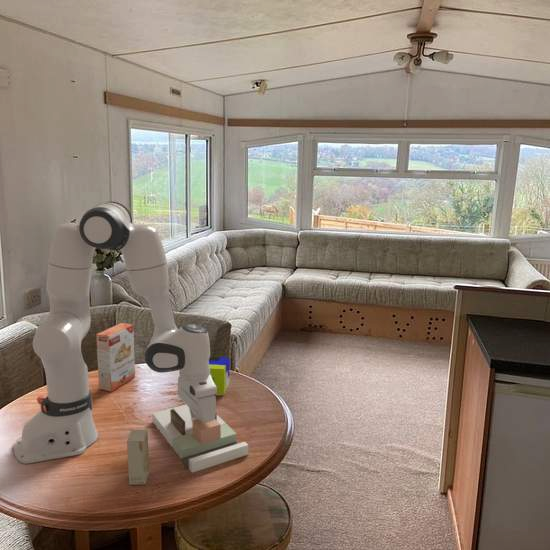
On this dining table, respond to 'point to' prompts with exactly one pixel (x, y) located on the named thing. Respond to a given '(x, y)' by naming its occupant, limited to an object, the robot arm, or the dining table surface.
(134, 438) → the skincare box
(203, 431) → the block
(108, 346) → the cracker box
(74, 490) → the dining table surface
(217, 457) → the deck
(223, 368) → the puzzle toy
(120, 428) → the dining table surface
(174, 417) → the channel walls
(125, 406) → the dining table surface
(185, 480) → the dining table surface
